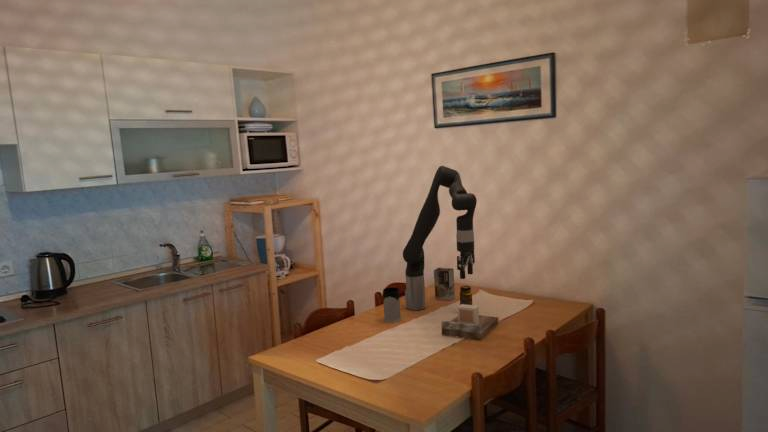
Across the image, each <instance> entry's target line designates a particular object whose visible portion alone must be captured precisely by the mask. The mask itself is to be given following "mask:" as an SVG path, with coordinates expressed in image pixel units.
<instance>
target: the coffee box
mask: <svg viewBox="0 0 768 432" xmlns="http://www.w3.org/2000/svg"><path fill="white" fill-rule="evenodd" d="M454 273H455V272H454V268H453V267H451V268H450V267H448V268H447V267H436V268H435V269H434V270H433V279H434V280H433V281H434V295H435V298H434V299H435V300H443V301H452V300H454V299H455V298H456V294H455V293H456V292H455V291H456V290H455V275H454Z"/></svg>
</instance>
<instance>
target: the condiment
mask: <svg viewBox="0 0 768 432" xmlns="http://www.w3.org/2000/svg"><path fill="white" fill-rule="evenodd" d="M459 289H460V290H459V306H460V305H461V304H465V305H473V293H472V287H471V286H470V285H462V286H460V288H459Z"/></svg>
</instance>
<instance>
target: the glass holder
mask: <svg viewBox="0 0 768 432" xmlns="http://www.w3.org/2000/svg"><path fill="white" fill-rule="evenodd" d="M382 292H383V294H382V295H383V298H382V299H383V300H382V301H383V314H384V316H383V322H385V323H387V324H394V323H400V322H401V321H402V320H403V318H402V316H401V301H400V300H401V299H400V290H399V288H398V287H386V288H383V290H382Z"/></svg>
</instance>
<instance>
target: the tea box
mask: <svg viewBox="0 0 768 432" xmlns="http://www.w3.org/2000/svg"><path fill="white" fill-rule="evenodd" d="M479 309H480V308H479V305H473V304H472V305H465V304H461V305H460V304H459V306H457V310H458V312H457V316H458V323H465V324H473V325H478V324H479V315H480V310H479Z"/></svg>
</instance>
